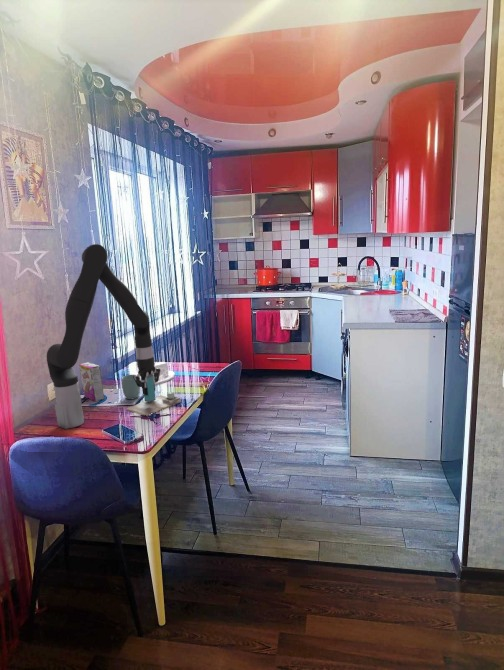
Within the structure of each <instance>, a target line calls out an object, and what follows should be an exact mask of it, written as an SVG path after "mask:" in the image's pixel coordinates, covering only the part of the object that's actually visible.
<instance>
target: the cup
mask: <svg viewBox="0 0 504 670" xmlns="http://www.w3.org/2000/svg"><path fill="white" fill-rule="evenodd" d="M133 376H134V375H133V374H126V375H124V376H122V377H121V380H120V381H121V386H122V387H121V388H122V392H123V397H125V398H126V399H128V400H133V399H132V398H134V399H136V397H137V398H138V397H139V396H140V393H141V387H138V386H137V384H136V382H135V380H134V378H133ZM135 376H136V375H135Z"/></svg>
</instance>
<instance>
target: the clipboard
mask: <svg viewBox="0 0 504 670" xmlns="http://www.w3.org/2000/svg"><path fill="white" fill-rule="evenodd" d="M155 398H156V400H154V401H152V402H147V401H145V400H144V401H142V402H140V403H137V404H134V405H132V406H130V407H127V408H126V411H129V412H133V413H136V414H138V415H141V416H145V415H146V417H148V415H149V414H151V413H154V412H156V413H158V412H160V410H161V411H163V410H165V409H168V408H170V407H172V406H175V405H177V404H180V403H181V402H182V400H181V397H180V396H176V395H175V399H173V400H168V398H167V396H165V395H161V394H159V395H157V396H155ZM162 409H163V410H162ZM157 411H158V412H157ZM154 414H155V413H154ZM151 415H152V414H151ZM149 416H150V415H149Z"/></svg>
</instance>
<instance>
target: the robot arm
mask: <svg viewBox="0 0 504 670" xmlns="http://www.w3.org/2000/svg"><path fill="white" fill-rule="evenodd" d="M108 258H109V256H108V252H107V249H106V247H104V246H103V245H101V244H99V243H95V244H91V245H89V246H87V247H86V248H85V249H84V250H83V251H82V254H81V260H82V267H81V270H80V274H79V276H78V278H77V280H76V281H75V284H74V285H73V287H72V289H71V292H70V295H69V297H68V300H67V303H66V307H65V310H64V313H65V314H64V319H65V320H64V321H65V332H64V336H63V339H62V341H61V343H55V344H53V345H51V346H50V347H49V348H48V350H47V352H46V364H47V368H48V373H49V377H50V379H51V381H52V383H53V388H54V394H55V395H54V396H55V400H56V401H55V402H56V403H54V410H55V415H56V416H55V417H56V422H57V426H58V427H59V428H63V429H65V430H67V429H72V428H76V427H79V426H81V425H83V424H84V423H85V417H84V411H83V404H82V398H81V392H80V391H81V390H80V385H79V377H78V374H77V373H76V372H75V371H74V369H73V367H74V366H75V365H76V364H77V362H78V359H79V355H80V351H81V346H82V341H83V336H84V334H85V333H84V332H85V330H86V327H87V323H88V320H89V317H90V314H91V311H92V307H93V304H94V301H95V296H96V293H97V288H98V284H99V281H100V282H101V283H102V285H104V286H105V288H106V289H107V291H108V292H109V293H110V294H111V296H112V297H113V298H114V300H115V301H116V302H117V304H118V305H119V306H120V308H121V309H122V310H123V311H124V313H125V315H126V316H127V318H128V320H129V321H130V323H131V325H133V328H134V346H135V359H136V366H137V369H138V371H137V373H138V374H137V375H136V376H135V375H134V376H133V378H134V380H135V382H136V384H137V386H138V387H140V388H141V390H142V394H143V396H144V395H146V396H147V395H148V391H147V377H146V376H148V375H149V374H151V375H152V374H153V381H154V390H155V391H156V385H155V383H156V382H158V380H159V375H160V369H158V368H155V367H154V366H155V363H156V362H155V356H154V355H155V354H154V348H153V341H152V335H151V330H150V329H151V328H150V327H151V326H150V324H151V323H150V316H149V314H148V313H147V312H146V311H145V310H143V308H142V307H141V306H140V305H139V303H138V301H137V298H136V297H135V296H134V295H133V293H132V292H131V291H130V289H129V288H128V287H127V285H125V283H124V282H123V281H122V280H120V279H119V277H117V276H116V275H115V274H114V272H113V271H112V270H111V268H110V267H109V265H108V263H107V261H108ZM140 377H141V380H140ZM143 379H145V380H143Z"/></svg>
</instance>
